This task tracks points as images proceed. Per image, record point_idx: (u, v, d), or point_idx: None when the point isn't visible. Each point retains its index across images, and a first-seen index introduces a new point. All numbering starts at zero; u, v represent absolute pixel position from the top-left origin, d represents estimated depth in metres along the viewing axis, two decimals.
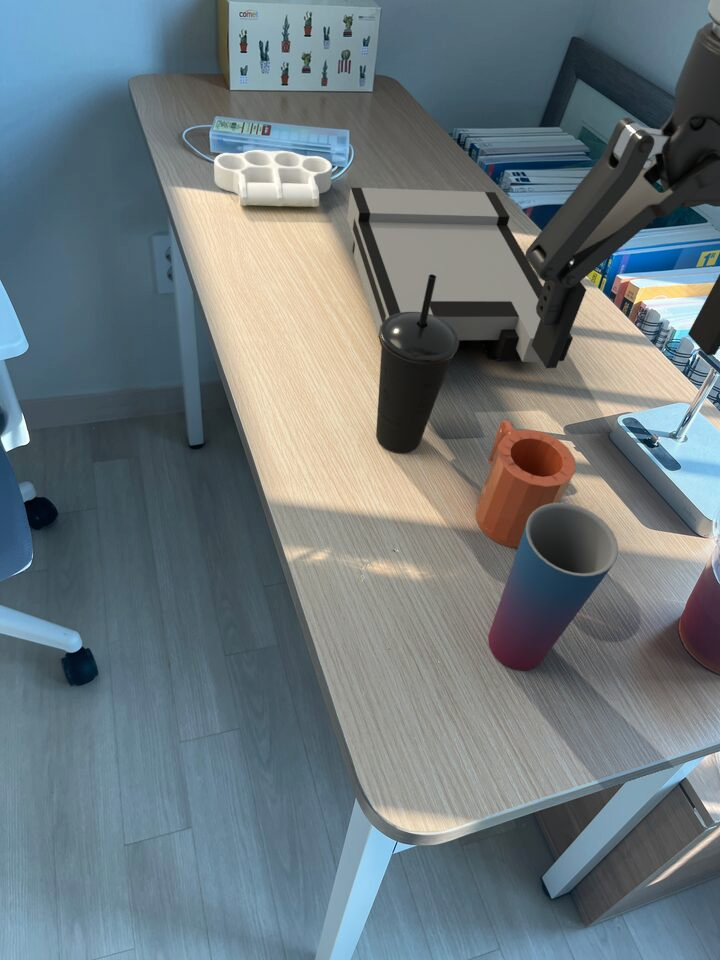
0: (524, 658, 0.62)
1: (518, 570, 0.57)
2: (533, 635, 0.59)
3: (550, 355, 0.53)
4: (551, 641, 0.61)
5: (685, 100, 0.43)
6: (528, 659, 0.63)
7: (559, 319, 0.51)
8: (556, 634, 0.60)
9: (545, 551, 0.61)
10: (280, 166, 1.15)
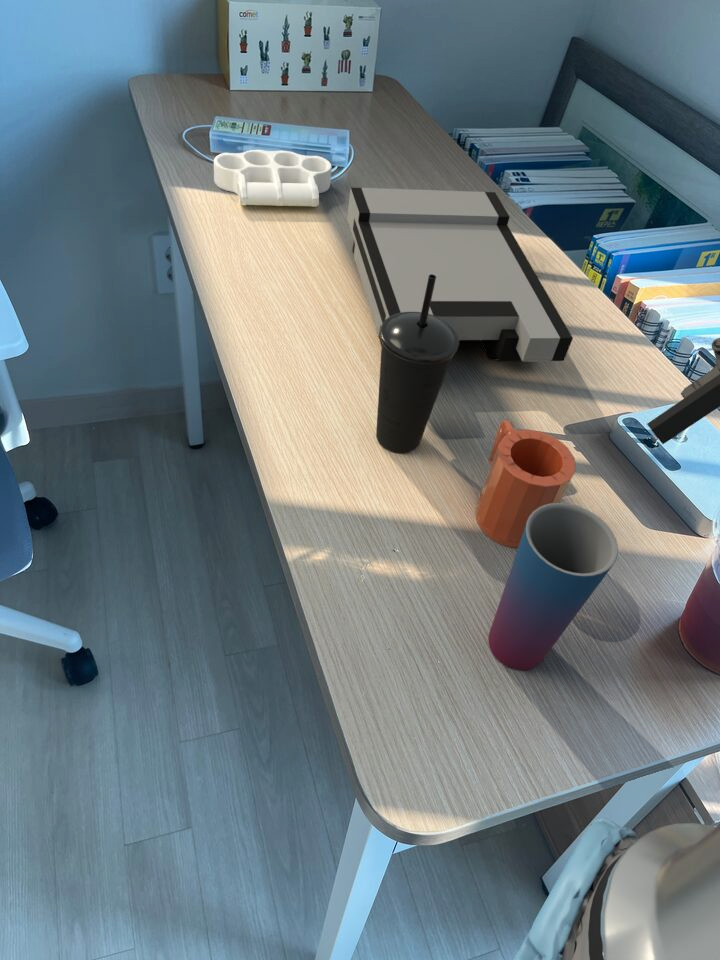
0: (524, 658, 0.62)
1: (518, 570, 0.57)
2: (533, 635, 0.59)
3: None
4: (551, 641, 0.61)
5: None
6: (528, 659, 0.63)
7: None
8: (556, 634, 0.60)
9: (545, 551, 0.61)
10: (280, 166, 1.15)
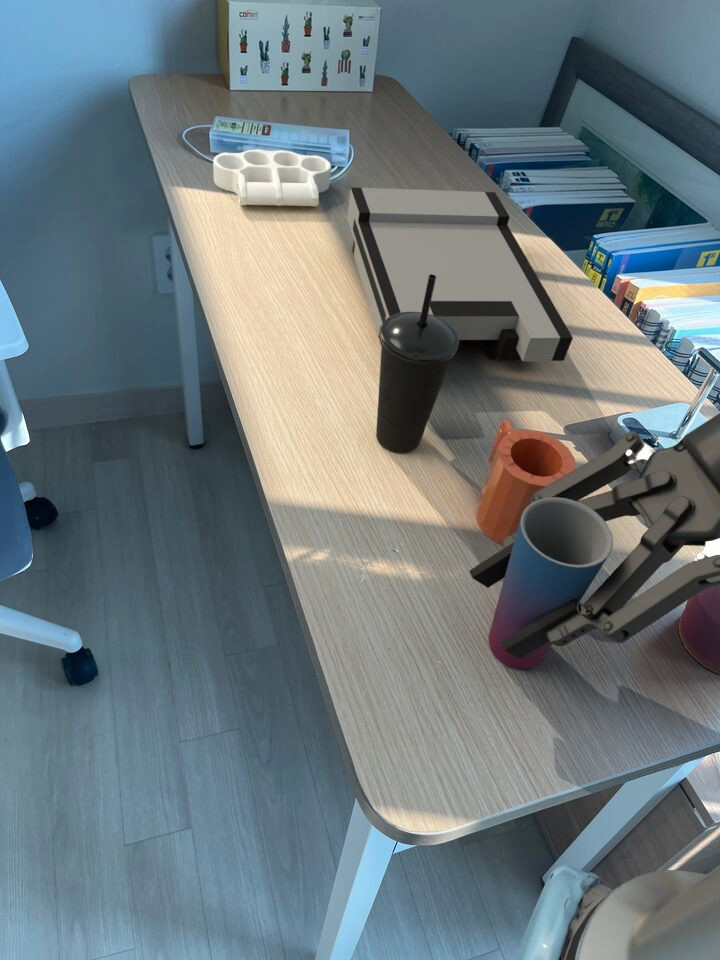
0: (524, 656, 0.62)
1: (514, 565, 0.57)
2: None
3: (530, 652, 0.59)
4: None
5: None
6: (528, 657, 0.62)
7: None
8: None
9: (542, 547, 0.61)
10: (279, 166, 1.15)
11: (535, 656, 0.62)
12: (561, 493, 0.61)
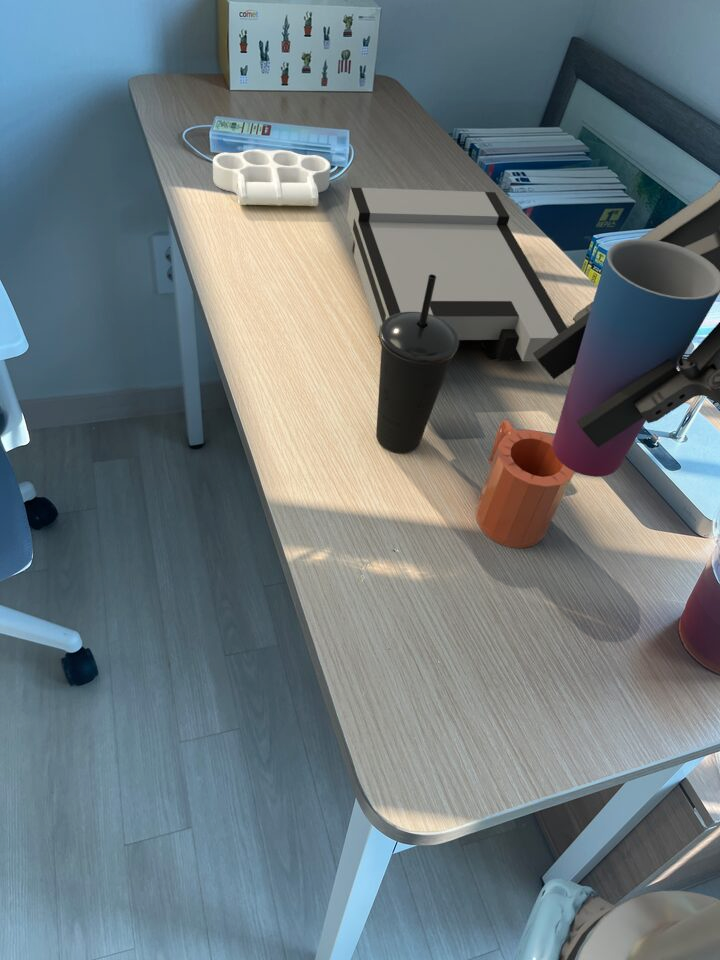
0: (600, 455, 0.52)
1: (596, 320, 0.46)
2: None
3: (611, 437, 0.49)
4: (634, 426, 0.50)
5: None
6: (604, 456, 0.52)
7: None
8: None
9: None
10: (279, 165, 1.15)
11: (613, 455, 0.52)
12: None
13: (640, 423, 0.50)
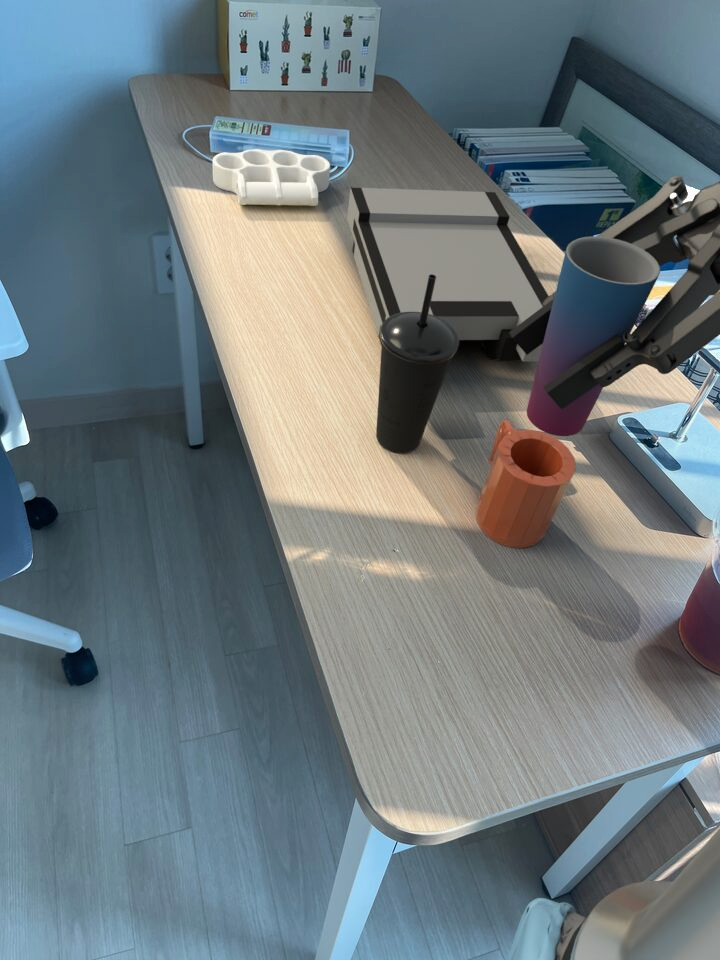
0: (564, 417, 0.62)
1: (558, 303, 0.56)
2: None
3: (572, 400, 0.59)
4: (592, 391, 0.60)
5: None
6: (569, 418, 0.62)
7: None
8: None
9: None
10: (278, 165, 1.15)
11: (576, 417, 0.62)
12: None
13: (597, 389, 0.60)
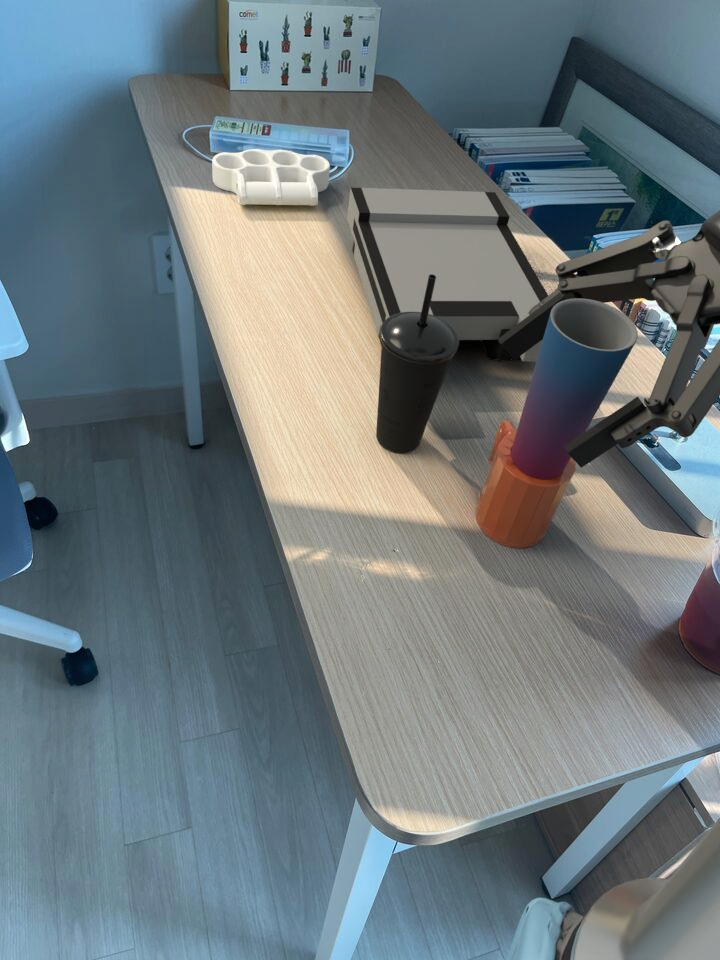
0: (546, 463, 0.66)
1: (542, 361, 0.60)
2: (556, 432, 0.63)
3: (592, 459, 0.59)
4: None
5: None
6: (550, 464, 0.66)
7: None
8: (577, 431, 0.63)
9: None
10: (278, 165, 1.15)
11: (556, 463, 0.66)
12: (584, 267, 0.65)
13: None
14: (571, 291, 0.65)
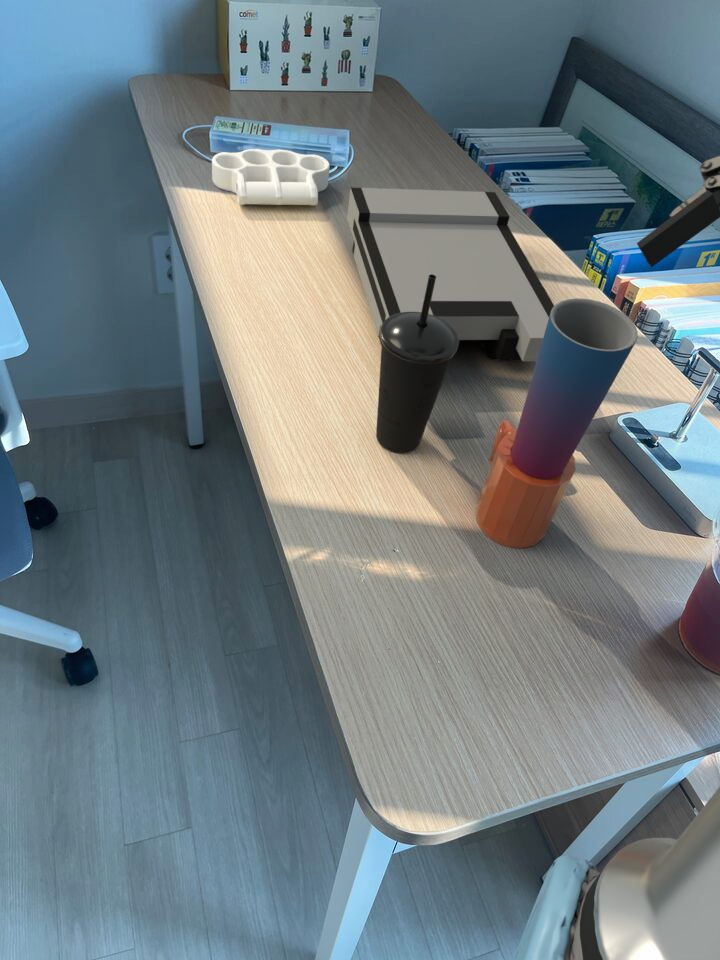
0: (546, 463, 0.66)
1: (542, 361, 0.60)
2: (556, 432, 0.63)
3: None
4: (572, 441, 0.64)
5: None
6: (550, 464, 0.66)
7: None
8: (577, 431, 0.63)
9: None
10: (278, 165, 1.15)
11: (556, 463, 0.66)
12: None
13: (577, 439, 0.64)
14: None
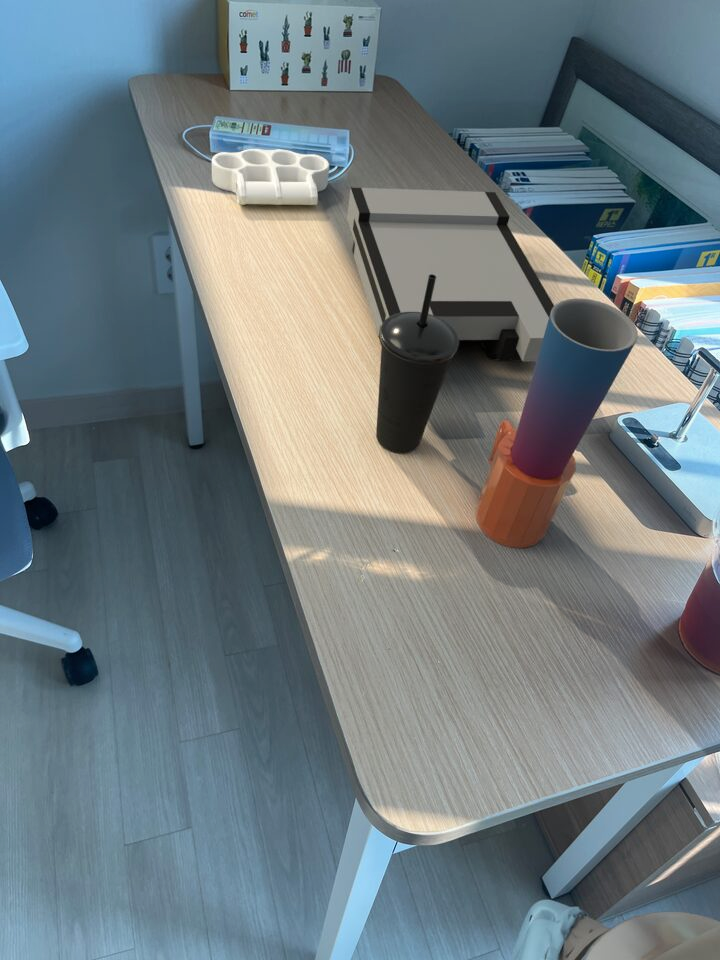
0: (546, 463, 0.66)
1: (542, 361, 0.60)
2: (556, 432, 0.63)
3: None
4: (572, 441, 0.64)
5: None
6: (550, 464, 0.66)
7: None
8: (577, 431, 0.63)
9: None
10: (277, 165, 1.15)
11: (556, 463, 0.66)
12: None
13: (577, 439, 0.64)
14: None
